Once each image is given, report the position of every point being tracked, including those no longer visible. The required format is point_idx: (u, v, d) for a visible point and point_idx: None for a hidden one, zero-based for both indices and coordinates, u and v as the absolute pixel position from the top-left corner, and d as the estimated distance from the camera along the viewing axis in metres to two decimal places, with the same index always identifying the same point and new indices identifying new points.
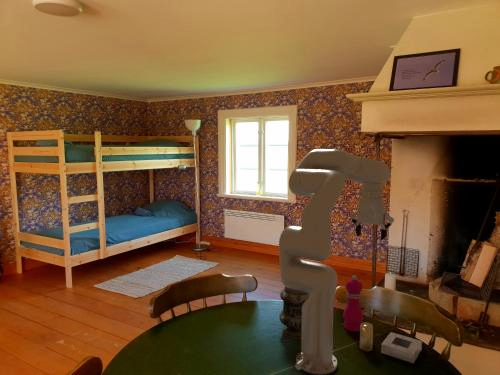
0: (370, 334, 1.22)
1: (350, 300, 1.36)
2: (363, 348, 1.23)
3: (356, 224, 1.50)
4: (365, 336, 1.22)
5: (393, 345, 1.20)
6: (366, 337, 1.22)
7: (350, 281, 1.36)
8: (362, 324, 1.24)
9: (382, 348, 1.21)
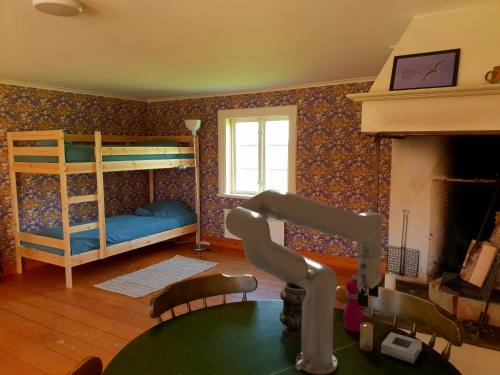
0: (370, 334, 1.22)
1: (350, 300, 1.36)
2: (363, 348, 1.23)
3: (366, 293, 1.17)
4: (365, 336, 1.22)
5: (393, 345, 1.20)
6: (366, 337, 1.22)
7: (350, 281, 1.36)
8: (362, 324, 1.24)
9: (382, 348, 1.21)
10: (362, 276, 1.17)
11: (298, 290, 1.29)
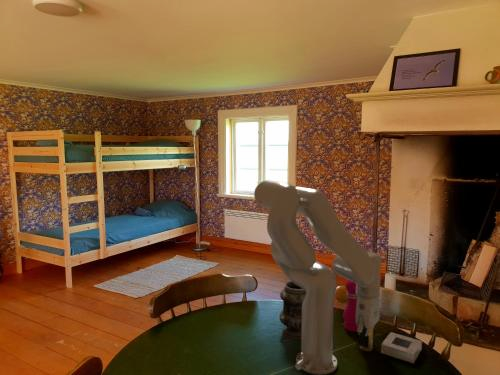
0: (370, 334, 1.22)
1: (350, 300, 1.36)
2: (363, 348, 1.23)
3: (367, 334, 1.21)
4: None
5: (393, 345, 1.20)
6: None
7: (350, 281, 1.36)
8: None
9: (382, 348, 1.21)
10: (361, 319, 1.19)
11: (298, 290, 1.29)
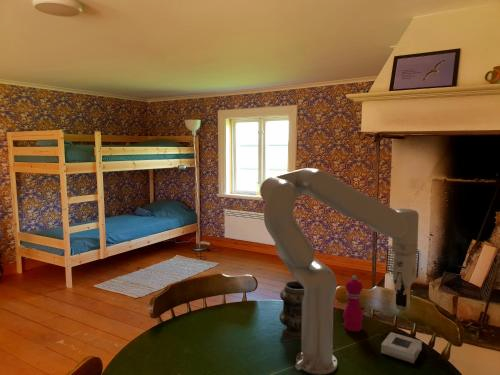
0: (408, 293, 1.18)
1: (350, 300, 1.36)
2: (400, 307, 1.19)
3: (405, 292, 1.17)
4: None
5: (393, 345, 1.20)
6: None
7: (350, 281, 1.36)
8: None
9: (382, 348, 1.21)
10: (399, 276, 1.16)
11: (298, 290, 1.29)
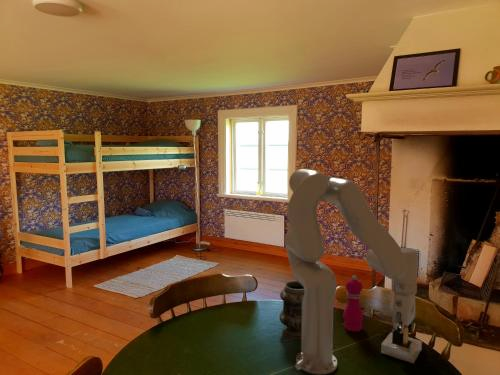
0: (406, 336, 1.20)
1: (350, 300, 1.36)
2: None
3: (402, 331, 1.16)
4: None
5: (393, 345, 1.20)
6: None
7: (350, 281, 1.36)
8: None
9: (382, 348, 1.21)
10: (398, 314, 1.16)
11: (298, 290, 1.29)
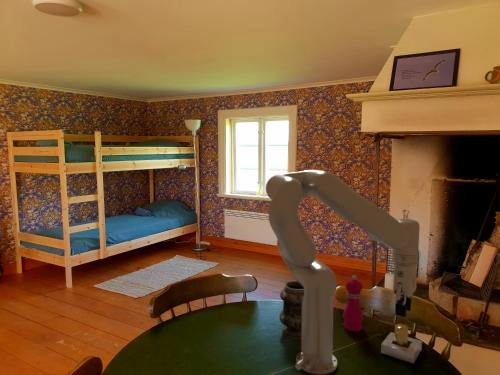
0: (406, 336, 1.20)
1: (350, 300, 1.36)
2: None
3: (404, 302, 1.17)
4: (401, 338, 1.20)
5: (393, 345, 1.20)
6: (401, 340, 1.20)
7: (350, 281, 1.36)
8: (396, 326, 1.22)
9: (382, 348, 1.21)
10: (399, 286, 1.16)
11: (298, 290, 1.29)
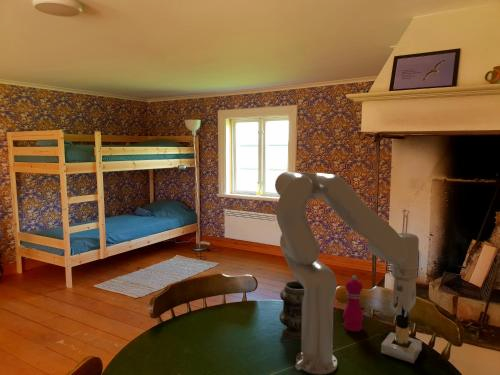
0: (407, 336, 1.20)
1: (350, 300, 1.36)
2: None
3: (406, 314, 1.19)
4: (402, 338, 1.20)
5: (393, 345, 1.20)
6: (402, 339, 1.20)
7: (350, 281, 1.36)
8: None
9: (382, 348, 1.21)
10: (399, 302, 1.17)
11: (298, 290, 1.29)
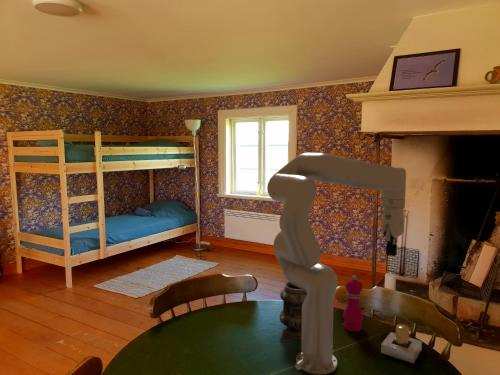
0: (407, 336, 1.20)
1: (350, 300, 1.36)
2: None
3: (394, 242, 1.28)
4: (402, 338, 1.20)
5: (393, 345, 1.20)
6: (402, 340, 1.20)
7: (350, 281, 1.36)
8: (398, 326, 1.21)
9: (382, 348, 1.21)
10: (388, 229, 1.26)
11: (298, 290, 1.29)
